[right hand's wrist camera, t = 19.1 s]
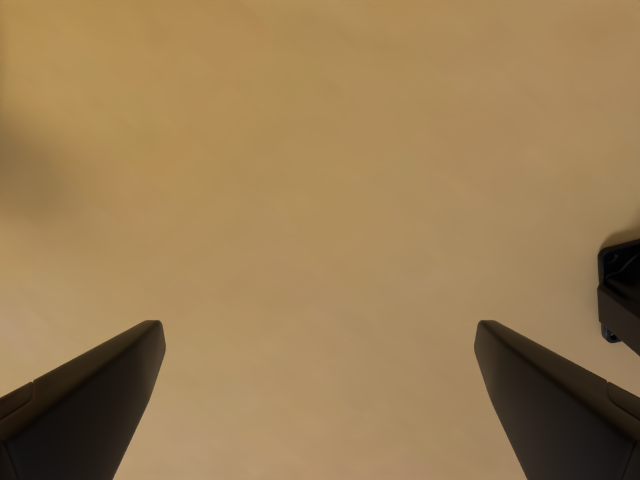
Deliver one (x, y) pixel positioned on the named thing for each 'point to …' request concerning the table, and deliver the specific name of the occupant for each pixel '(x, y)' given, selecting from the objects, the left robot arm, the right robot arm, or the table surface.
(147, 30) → the table surface
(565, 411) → the right robot arm
